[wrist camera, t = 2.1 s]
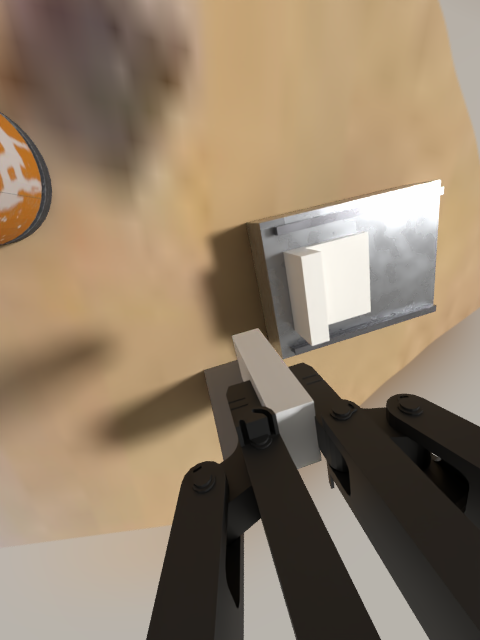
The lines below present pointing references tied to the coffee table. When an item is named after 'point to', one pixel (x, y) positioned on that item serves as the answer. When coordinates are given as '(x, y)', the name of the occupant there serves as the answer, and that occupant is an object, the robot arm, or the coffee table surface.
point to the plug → (223, 403)
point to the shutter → (328, 284)
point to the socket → (384, 259)
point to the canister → (21, 184)
